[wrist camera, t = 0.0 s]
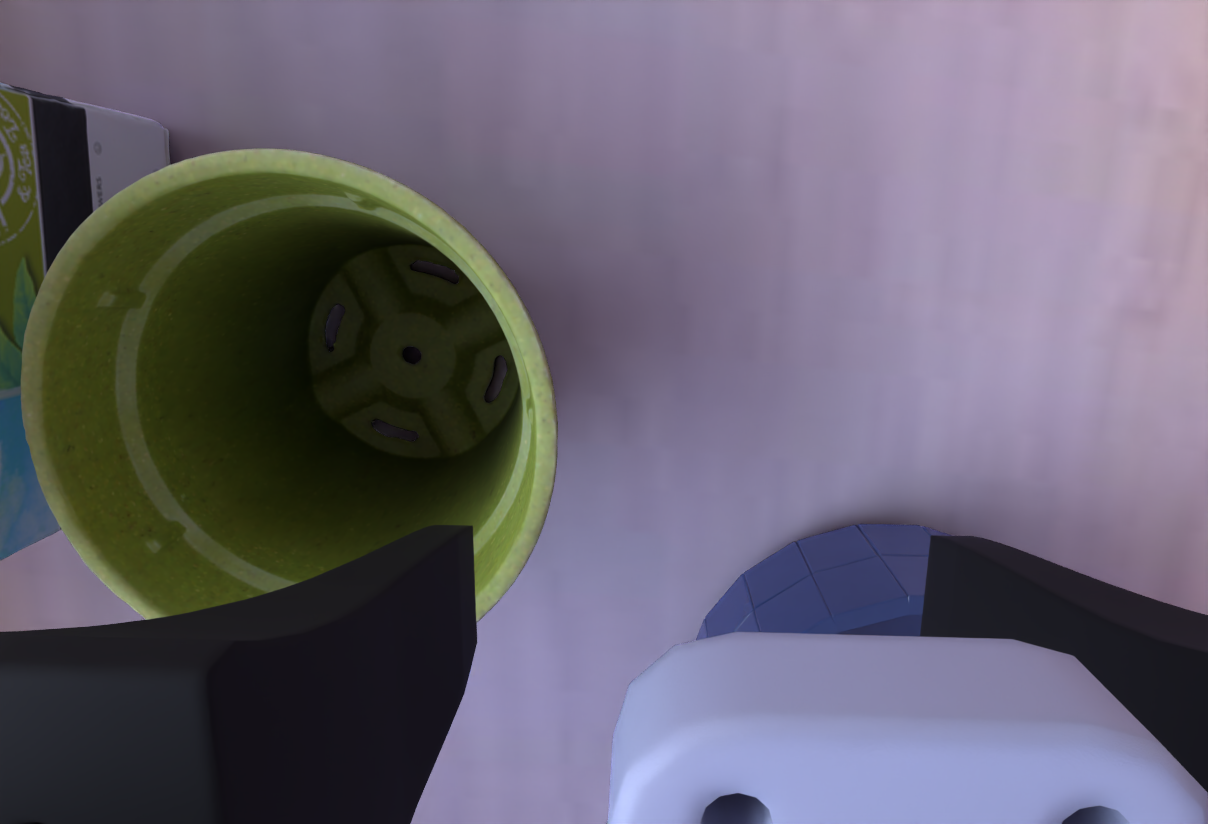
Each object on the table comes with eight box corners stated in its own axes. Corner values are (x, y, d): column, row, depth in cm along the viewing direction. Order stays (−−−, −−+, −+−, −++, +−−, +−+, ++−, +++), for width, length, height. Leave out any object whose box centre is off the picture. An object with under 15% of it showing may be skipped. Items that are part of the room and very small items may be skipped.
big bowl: (1029, 850, 25) (1123, 1002, 20) (677, 837, 25) (686, 982, 21) (1080, 519, 22) (1201, 602, 18) (687, 511, 23) (700, 590, 18)
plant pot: (630, 233, 21) (624, 241, 13) (540, 550, 23) (483, 736, 15) (287, 133, 21) (49, 74, 12) (229, 463, 23) (-6, 602, 15)
